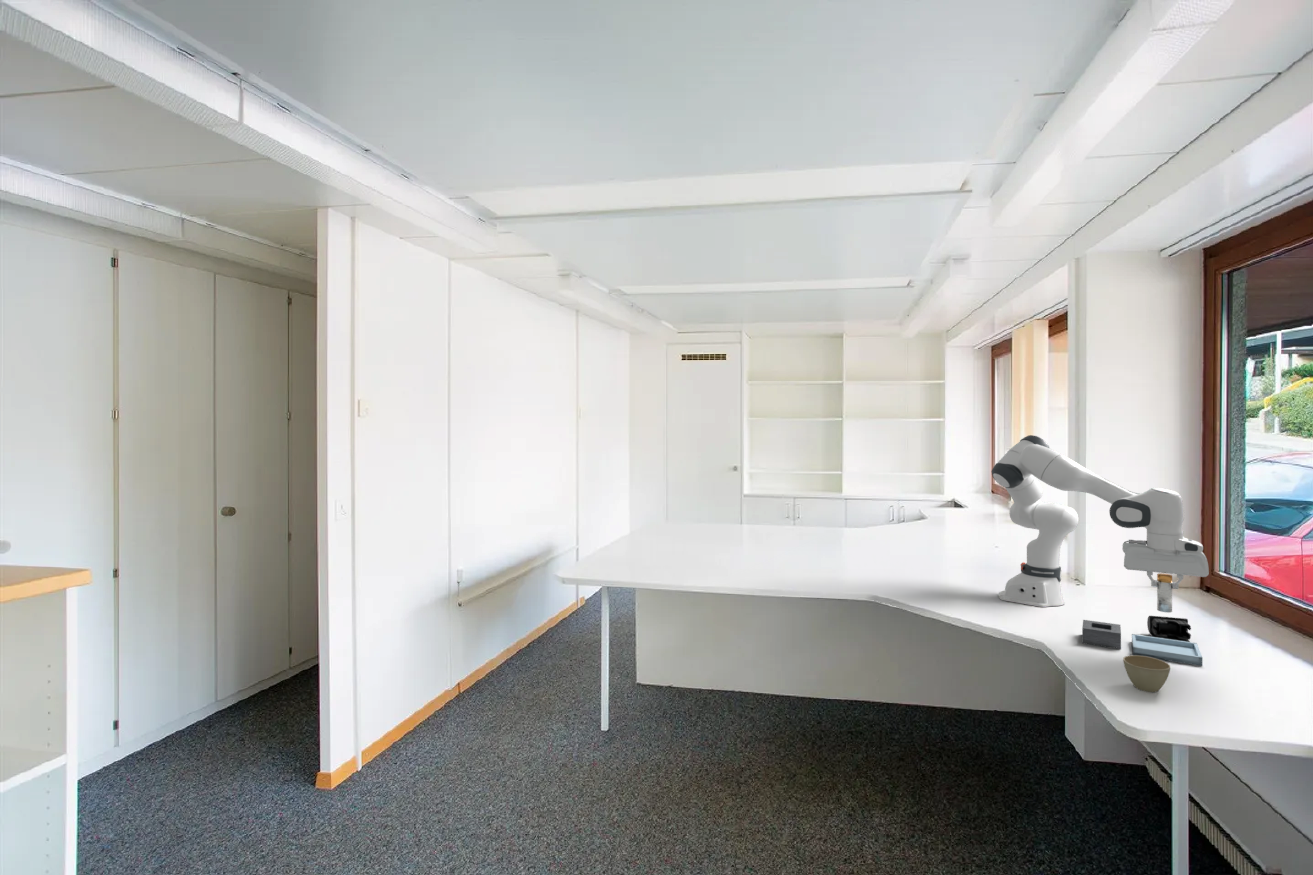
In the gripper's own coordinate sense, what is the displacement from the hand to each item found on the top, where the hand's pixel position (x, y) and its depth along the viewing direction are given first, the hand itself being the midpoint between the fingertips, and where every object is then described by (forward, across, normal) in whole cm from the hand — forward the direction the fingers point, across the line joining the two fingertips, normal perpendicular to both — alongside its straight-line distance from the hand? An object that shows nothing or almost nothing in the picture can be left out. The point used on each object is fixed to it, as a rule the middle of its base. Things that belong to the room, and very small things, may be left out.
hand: (1164, 587), depth 195 cm
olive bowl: (+20, -6, -34) cm, 40 cm away
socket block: (+20, -16, +2) cm, 26 cm away
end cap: (+20, +2, +17) cm, 27 cm away
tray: (+20, 0, 0) cm, 20 cm away
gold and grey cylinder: (+7, 0, 0) cm, 7 cm away
